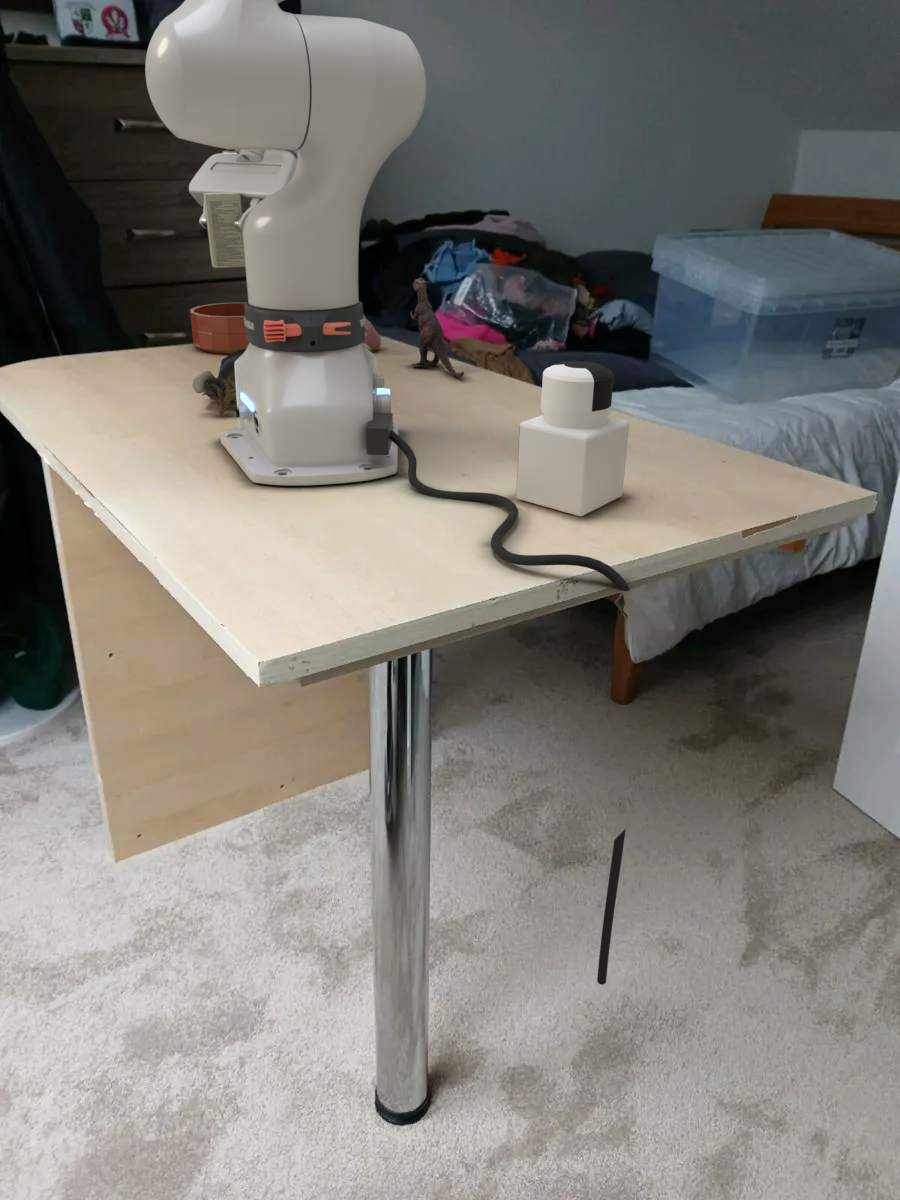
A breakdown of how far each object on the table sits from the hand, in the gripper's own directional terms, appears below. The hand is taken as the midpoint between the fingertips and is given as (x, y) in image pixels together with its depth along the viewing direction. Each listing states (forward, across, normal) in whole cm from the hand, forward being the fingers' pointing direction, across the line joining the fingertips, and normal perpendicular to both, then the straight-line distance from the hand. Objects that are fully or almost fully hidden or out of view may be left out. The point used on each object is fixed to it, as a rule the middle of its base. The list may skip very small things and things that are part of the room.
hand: (222, 227), depth 137 cm
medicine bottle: (+32, +74, -7) cm, 81 cm away
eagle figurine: (+30, +27, -5) cm, 40 cm away
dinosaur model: (+7, +34, +17) cm, 39 cm away
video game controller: (+6, +15, +19) cm, 25 cm away
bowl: (+11, 0, +13) cm, 17 cm away
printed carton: (+4, 0, +4) cm, 6 cm away
